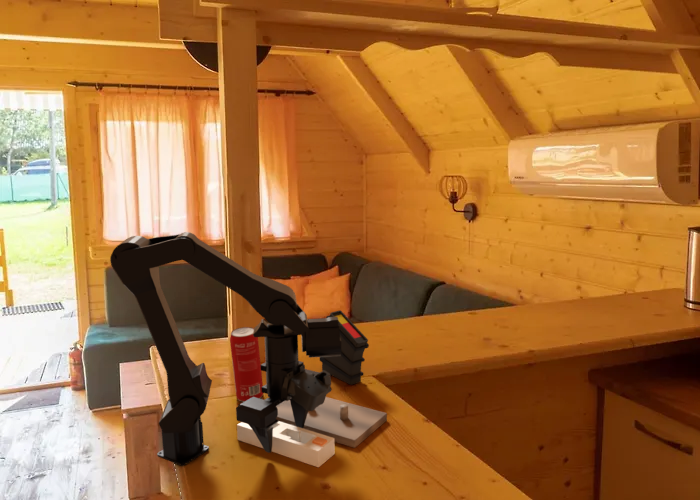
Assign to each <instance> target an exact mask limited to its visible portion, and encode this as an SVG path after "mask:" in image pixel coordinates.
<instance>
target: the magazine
mask: <svg viewBox="0 0 700 500" xmlns="http://www.w3.org/2000/svg"><path fill="white" fill-rule="evenodd" d="M328 317H338V320H339V331H340V338H341V356H330V357H319V362H320V363H321V372H322V371H323V370H325V371H327V372H328V373H330V376H332V377H334V378H336V379H338V380H340V381H342V382H344V383H346V384H349V386H350V385H351V386H352V385H354V384H357V383H360V382H361V381H362V378H361V377H362V376H364V372H363V371H362V363H364V362H365V358H364V357H363V356H364V352H365V351H366V350H365V349H368V348H369V346H370V345H369V343H368V342H369V339H368V338H367V337H366V336H365V335H364V334H363V333H362V332H361V330H360V329H359V328H357V326H356V325H355V323H353V322H352V321H351V319H350V318H349V317H348V316H347V315H346V314H345V313H344V312H343V311H342V310H335V311H332V312H330V313H329V315H327V316H326V317H325V318H328Z"/></svg>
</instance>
